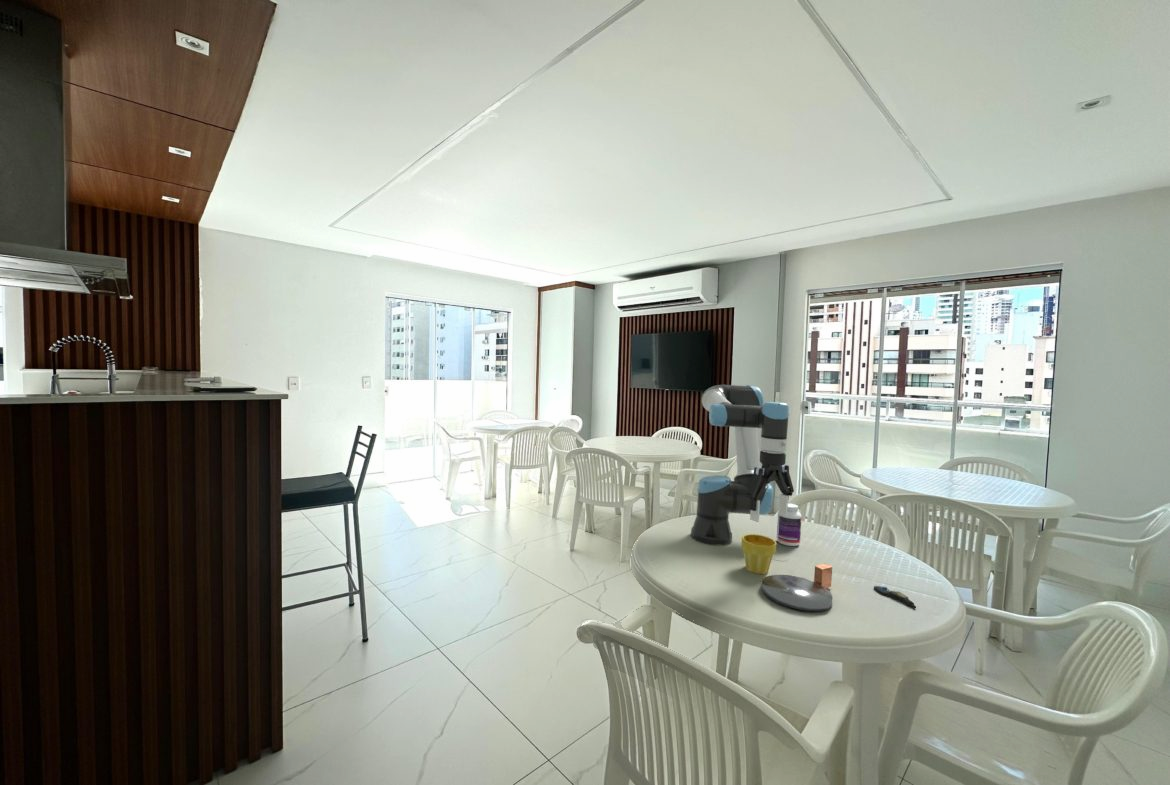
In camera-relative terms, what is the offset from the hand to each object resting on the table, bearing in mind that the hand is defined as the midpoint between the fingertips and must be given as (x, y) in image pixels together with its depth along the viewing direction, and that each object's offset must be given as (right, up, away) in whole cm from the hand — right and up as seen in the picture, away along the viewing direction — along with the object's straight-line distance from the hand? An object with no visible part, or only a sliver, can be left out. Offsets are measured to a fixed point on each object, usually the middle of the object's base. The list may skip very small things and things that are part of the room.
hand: (768, 517), depth 142 cm
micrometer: (+30, -20, -14) cm, 39 cm away
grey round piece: (+3, -17, -15) cm, 23 cm away
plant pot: (-3, -17, +1) cm, 18 cm away
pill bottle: (+18, -17, +26) cm, 36 cm away
